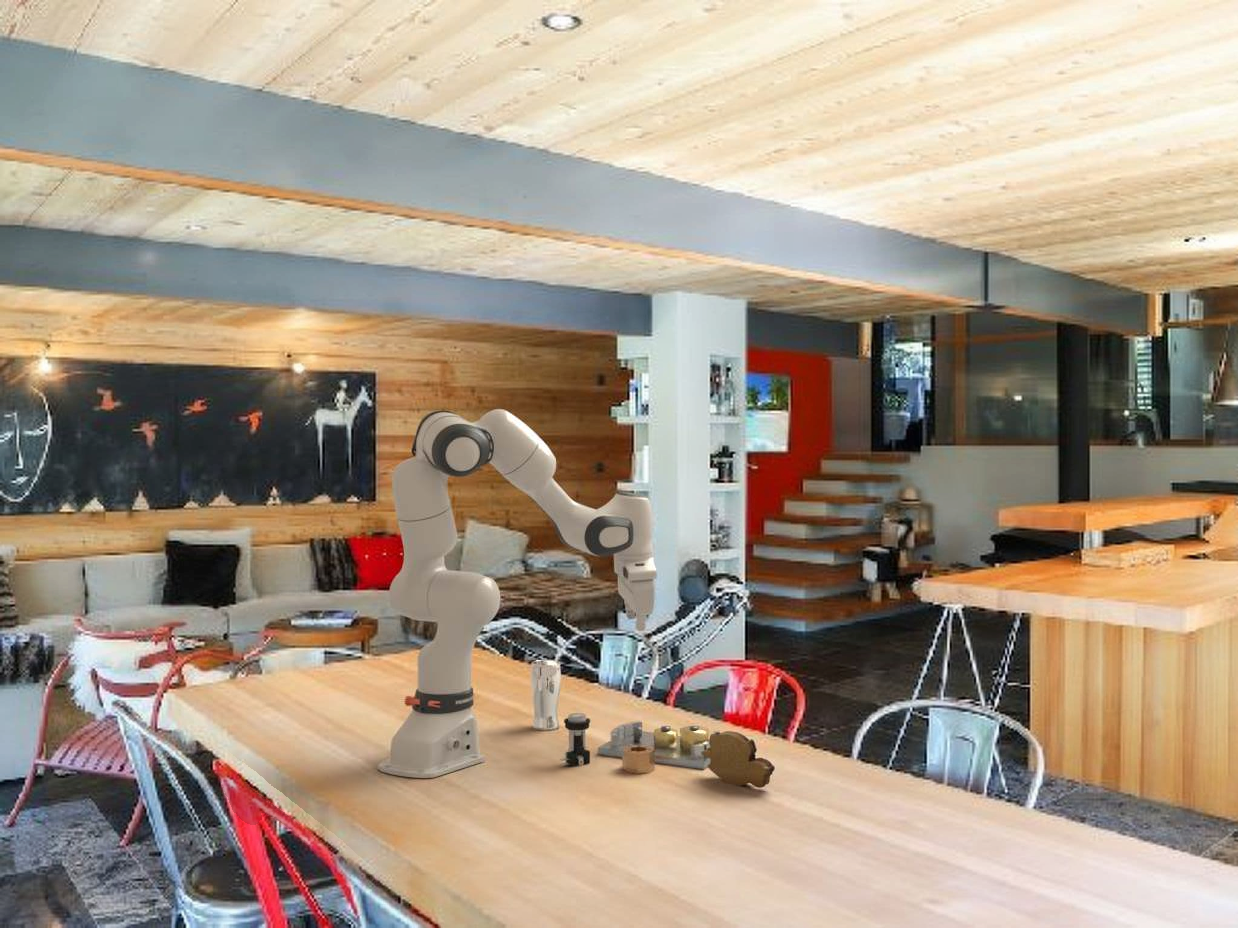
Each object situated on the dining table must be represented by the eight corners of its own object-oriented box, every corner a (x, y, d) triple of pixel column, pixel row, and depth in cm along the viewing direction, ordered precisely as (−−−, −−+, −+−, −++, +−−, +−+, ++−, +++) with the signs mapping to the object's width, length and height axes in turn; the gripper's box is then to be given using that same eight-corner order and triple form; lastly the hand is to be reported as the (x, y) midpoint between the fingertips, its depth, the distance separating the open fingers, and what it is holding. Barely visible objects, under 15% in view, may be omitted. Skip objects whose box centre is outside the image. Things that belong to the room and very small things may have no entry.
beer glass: (563, 723, 257) (563, 659, 257) (558, 731, 250) (558, 665, 250) (533, 722, 258) (533, 659, 258) (528, 730, 251) (528, 665, 251)
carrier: (704, 769, 221) (704, 739, 221) (598, 754, 232) (598, 725, 232) (732, 749, 235) (732, 721, 235) (630, 736, 246) (630, 708, 246)
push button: (568, 770, 220) (568, 720, 220) (553, 764, 225) (553, 715, 224) (595, 764, 224) (595, 715, 224) (580, 758, 229) (580, 710, 228)
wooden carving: (780, 789, 209) (780, 736, 208) (766, 795, 205) (767, 741, 205) (709, 772, 219) (709, 722, 219) (695, 777, 216) (695, 726, 216)
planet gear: (645, 774, 217) (645, 754, 217) (618, 770, 220) (618, 750, 220) (658, 766, 223) (658, 747, 223) (631, 762, 225) (631, 743, 225)
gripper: (610, 554, 255) (612, 612, 257) (630, 575, 235) (632, 638, 237) (636, 552, 256) (638, 610, 258) (659, 573, 236) (660, 635, 238)
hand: (635, 623), depth 247 cm, fingers open, 8 cm apart
